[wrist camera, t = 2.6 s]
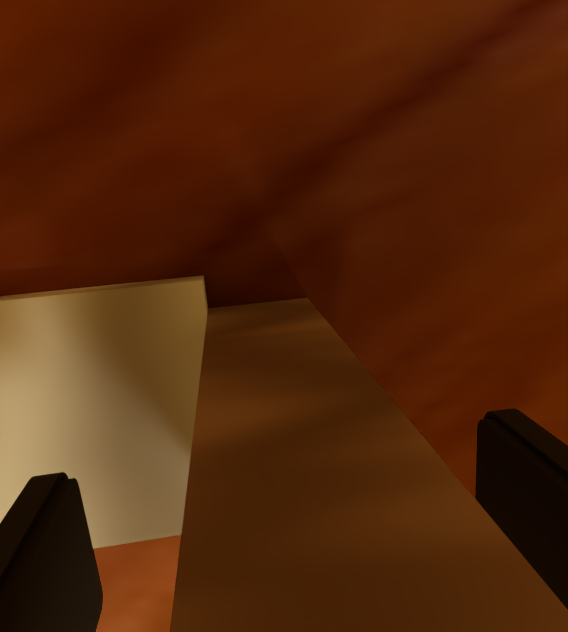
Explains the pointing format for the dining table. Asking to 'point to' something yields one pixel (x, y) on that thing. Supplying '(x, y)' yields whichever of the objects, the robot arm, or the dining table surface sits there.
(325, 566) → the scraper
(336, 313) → the dining table surface
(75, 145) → the dining table surface
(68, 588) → the robot arm
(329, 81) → the dining table surface
